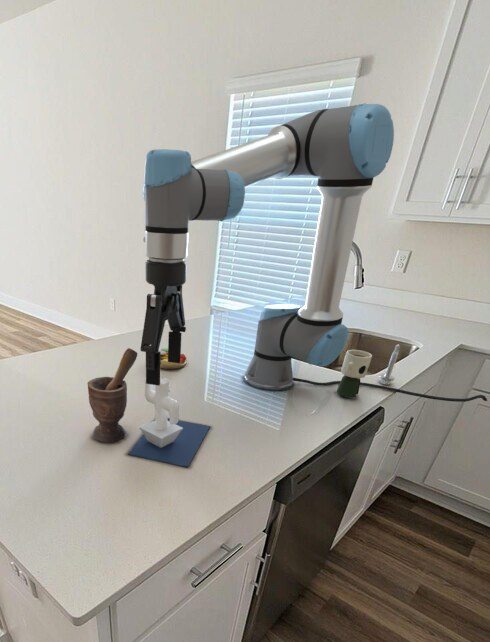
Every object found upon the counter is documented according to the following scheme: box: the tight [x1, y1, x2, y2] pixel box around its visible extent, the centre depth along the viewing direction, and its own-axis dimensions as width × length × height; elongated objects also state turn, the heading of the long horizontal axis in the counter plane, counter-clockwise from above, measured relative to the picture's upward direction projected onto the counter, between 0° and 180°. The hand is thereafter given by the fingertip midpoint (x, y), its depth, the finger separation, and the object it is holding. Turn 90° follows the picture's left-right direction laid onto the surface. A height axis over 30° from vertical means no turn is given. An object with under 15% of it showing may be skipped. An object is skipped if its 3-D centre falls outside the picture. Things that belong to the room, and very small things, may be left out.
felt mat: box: [127, 417, 211, 468], centre depth 96 cm, size 14×20×1 cm
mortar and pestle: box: [86, 347, 138, 443], centre depth 92 cm, size 12×9×20 cm
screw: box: [378, 343, 401, 386], centre depth 130 cm, size 13×5×5 cm
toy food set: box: [158, 347, 188, 370], centre depth 139 cm, size 13×13×3 cm
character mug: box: [336, 349, 373, 399], centre depth 120 cm, size 11×7×13 cm, turn 136°
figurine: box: [138, 377, 183, 448], centre depth 91 cm, size 7×9×15 cm
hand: (164, 372), depth 86 cm, fingers open, 13 cm apart
